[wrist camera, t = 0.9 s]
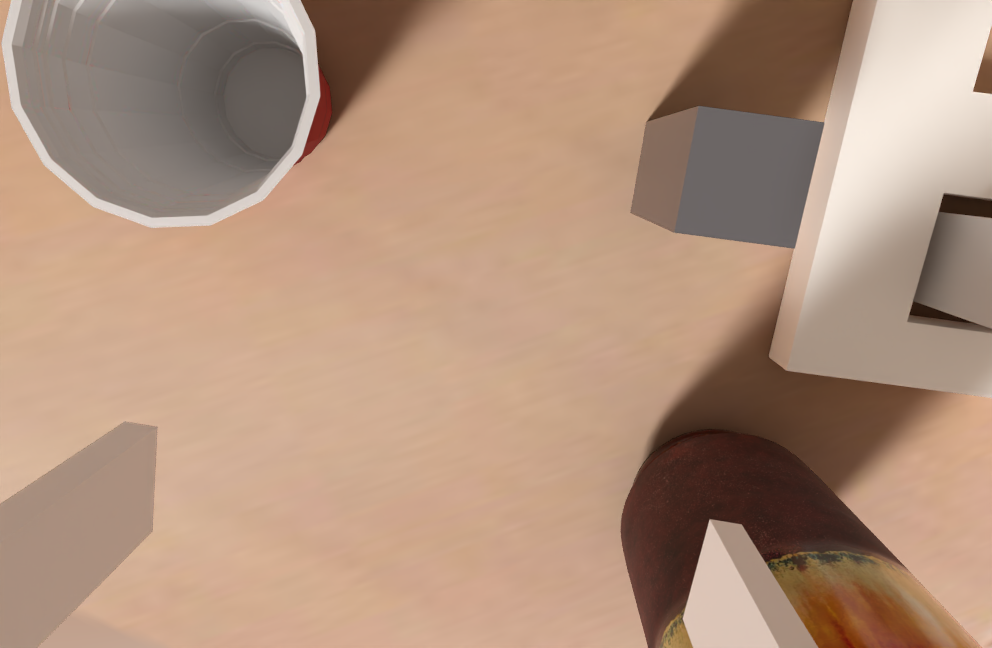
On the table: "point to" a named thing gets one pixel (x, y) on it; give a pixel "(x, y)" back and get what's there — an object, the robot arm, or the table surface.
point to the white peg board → (898, 207)
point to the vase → (770, 546)
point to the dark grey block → (727, 174)
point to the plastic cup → (167, 100)
